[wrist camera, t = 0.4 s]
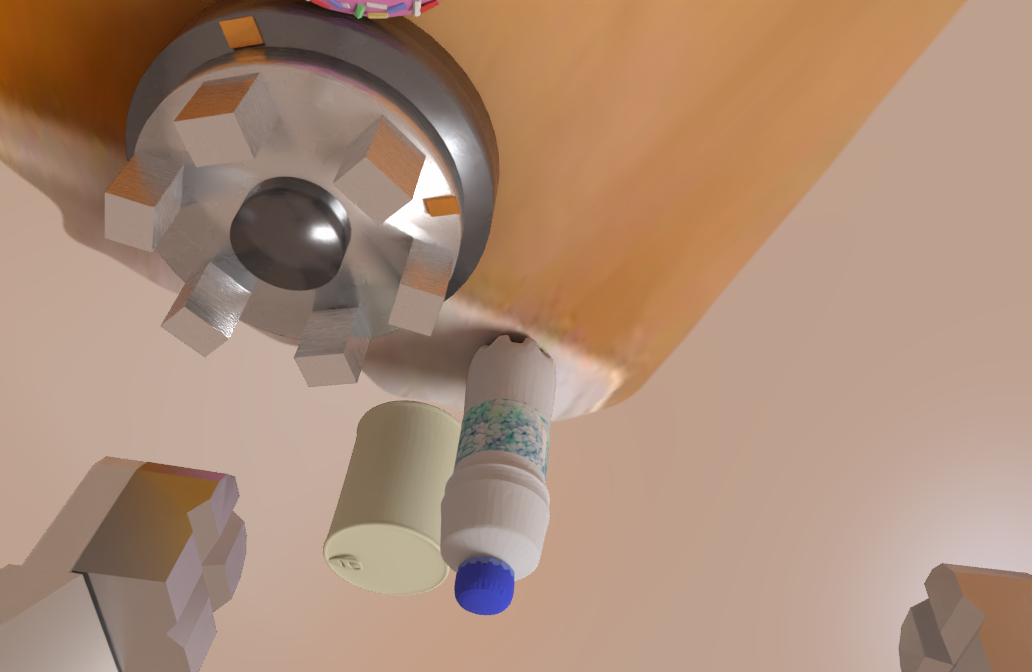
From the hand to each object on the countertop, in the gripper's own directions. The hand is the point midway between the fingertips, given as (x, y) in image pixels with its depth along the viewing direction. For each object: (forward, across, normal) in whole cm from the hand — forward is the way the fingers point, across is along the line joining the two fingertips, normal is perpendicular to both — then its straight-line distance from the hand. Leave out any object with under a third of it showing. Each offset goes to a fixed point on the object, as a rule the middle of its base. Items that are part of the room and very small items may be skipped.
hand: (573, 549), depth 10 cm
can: (+44, +11, +41) cm, 61 cm away
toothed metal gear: (+36, +15, +16) cm, 42 cm away
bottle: (+43, +3, +30) cm, 52 cm away
